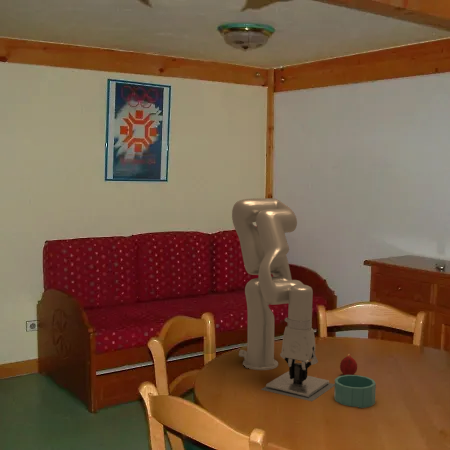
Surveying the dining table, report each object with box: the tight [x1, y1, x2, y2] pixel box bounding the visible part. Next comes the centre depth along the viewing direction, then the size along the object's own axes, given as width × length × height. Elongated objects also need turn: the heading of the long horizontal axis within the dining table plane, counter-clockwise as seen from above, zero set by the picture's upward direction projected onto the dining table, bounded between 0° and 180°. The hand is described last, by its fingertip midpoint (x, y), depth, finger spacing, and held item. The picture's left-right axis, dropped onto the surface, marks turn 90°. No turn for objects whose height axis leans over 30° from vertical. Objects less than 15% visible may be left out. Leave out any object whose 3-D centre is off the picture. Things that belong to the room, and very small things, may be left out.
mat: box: [260, 382, 335, 402], centre depth 210 cm, size 18×18×1 cm
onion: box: [339, 353, 358, 376], centre depth 221 cm, size 6×6×8 cm
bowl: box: [333, 374, 377, 409], centre depth 199 cm, size 12×12×6 cm
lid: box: [265, 362, 330, 397], centre depth 210 cm, size 15×15×7 cm
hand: (298, 378), depth 210 cm, fingers closed on lid, 3 cm apart
